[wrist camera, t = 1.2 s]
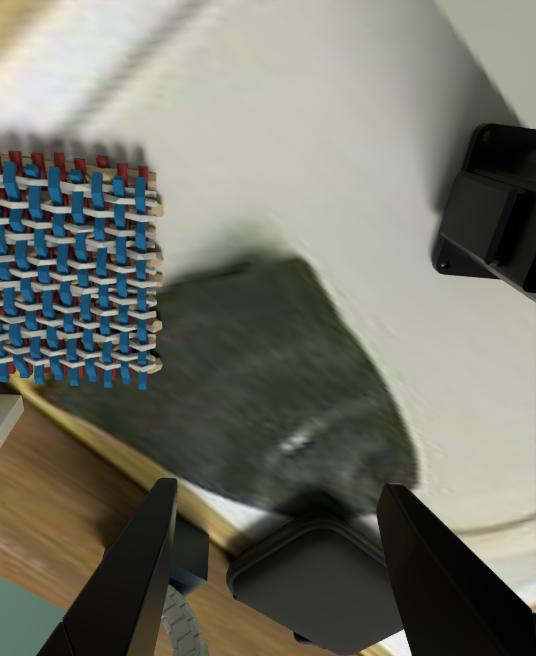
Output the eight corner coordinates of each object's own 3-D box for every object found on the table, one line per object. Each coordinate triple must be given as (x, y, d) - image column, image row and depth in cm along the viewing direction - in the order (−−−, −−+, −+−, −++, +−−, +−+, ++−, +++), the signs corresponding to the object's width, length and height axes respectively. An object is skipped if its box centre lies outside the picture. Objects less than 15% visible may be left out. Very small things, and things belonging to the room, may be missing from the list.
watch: (176, 584, 31) (154, 802, 22) (82, 538, 28) (6, 770, 18) (231, 546, 30) (232, 763, 20) (137, 493, 26) (86, 721, 17)
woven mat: (168, 160, 18) (161, 167, 16) (164, 370, 23) (159, 393, 21) (-106, 127, 17) (-147, 130, 15) (-47, 357, 22) (-72, 381, 20)
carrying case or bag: (202, 563, 31) (325, 633, 37) (200, 608, 28) (332, 675, 34) (318, 488, 28) (430, 577, 34) (327, 530, 25) (447, 618, 31)
